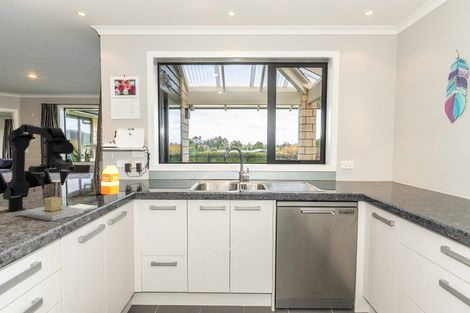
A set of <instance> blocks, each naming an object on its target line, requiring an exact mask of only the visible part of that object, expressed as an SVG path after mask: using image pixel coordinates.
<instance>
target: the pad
mask: <svg viewBox="0 0 470 313" xmlns="http://www.w3.org/2000/svg"><path fill="white" fill-rule="evenodd" d="M67 207H72V208H79V209H84V211H85V212H86V211H89V210H93V209H97V206H96V205H91V204H82V203H80V204H79V203H78V204H75V205H69V206H67Z"/></svg>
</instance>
